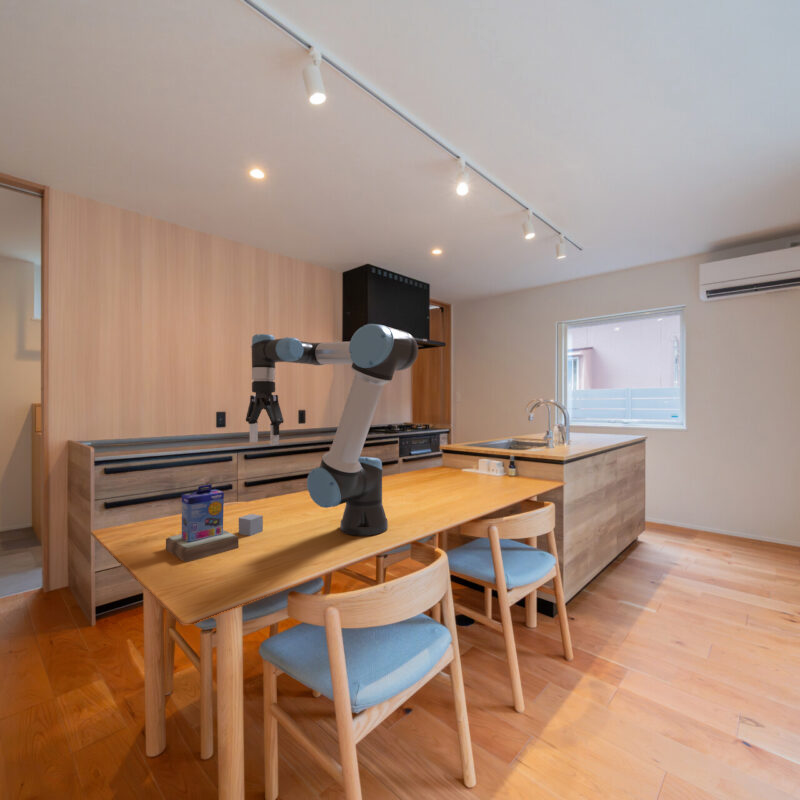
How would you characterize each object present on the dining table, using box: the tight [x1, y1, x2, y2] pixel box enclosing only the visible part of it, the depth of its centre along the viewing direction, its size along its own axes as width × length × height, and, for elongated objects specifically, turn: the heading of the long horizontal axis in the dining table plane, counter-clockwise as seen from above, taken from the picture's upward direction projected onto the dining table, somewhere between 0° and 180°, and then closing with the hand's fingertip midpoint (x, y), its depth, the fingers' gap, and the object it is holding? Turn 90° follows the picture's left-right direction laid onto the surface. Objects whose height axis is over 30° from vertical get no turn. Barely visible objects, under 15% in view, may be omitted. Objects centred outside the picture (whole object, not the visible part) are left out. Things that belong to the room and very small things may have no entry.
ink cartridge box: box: [181, 484, 225, 542], centre depth 114 cm, size 10×6×14 cm, turn 138°
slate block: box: [238, 513, 264, 537], centre depth 128 cm, size 5×5×5 cm
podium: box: [165, 529, 240, 563], centre depth 114 cm, size 14×14×3 cm
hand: (263, 443), depth 138 cm, fingers open, 13 cm apart
